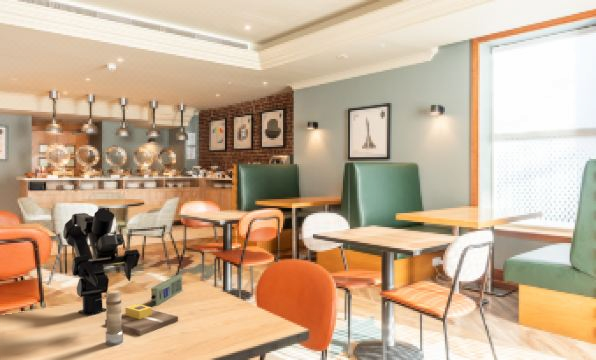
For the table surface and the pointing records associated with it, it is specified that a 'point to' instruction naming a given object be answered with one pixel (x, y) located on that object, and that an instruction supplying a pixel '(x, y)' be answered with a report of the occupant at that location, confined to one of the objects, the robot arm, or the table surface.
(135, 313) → the block
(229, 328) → the table surface
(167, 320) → the subfloor panel
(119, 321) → the beige ringed cylinder
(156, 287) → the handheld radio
